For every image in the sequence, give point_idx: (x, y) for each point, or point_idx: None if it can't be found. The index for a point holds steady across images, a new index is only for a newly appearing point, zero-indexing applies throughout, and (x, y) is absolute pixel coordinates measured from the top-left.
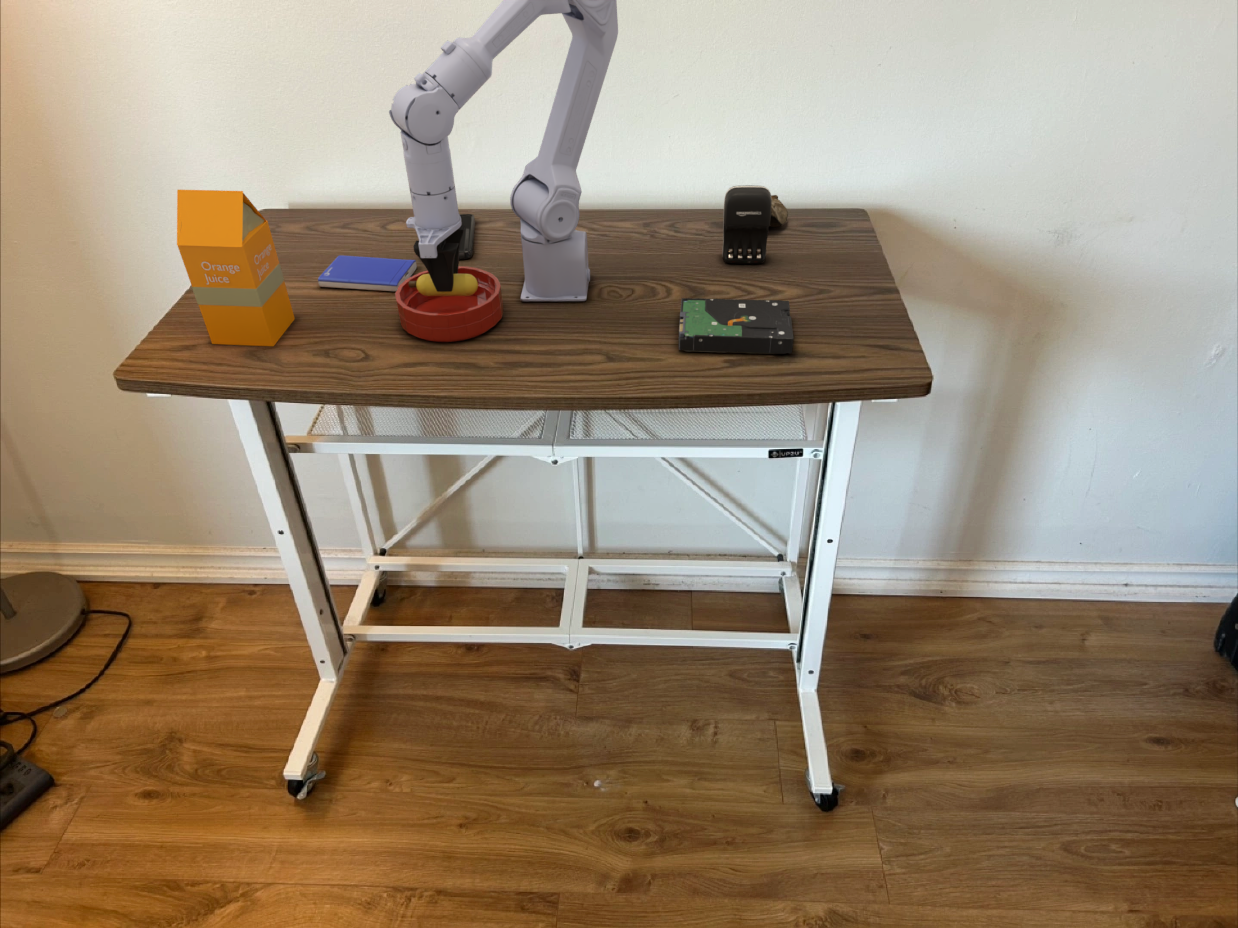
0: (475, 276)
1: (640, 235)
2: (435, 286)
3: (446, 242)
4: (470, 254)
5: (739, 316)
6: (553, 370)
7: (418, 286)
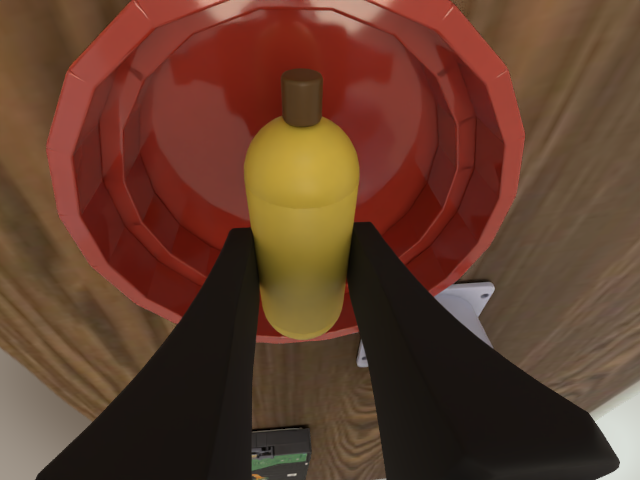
0: (441, 254)
1: (566, 376)
2: (224, 245)
3: (396, 430)
4: None
5: (266, 476)
6: (106, 360)
7: (256, 146)
